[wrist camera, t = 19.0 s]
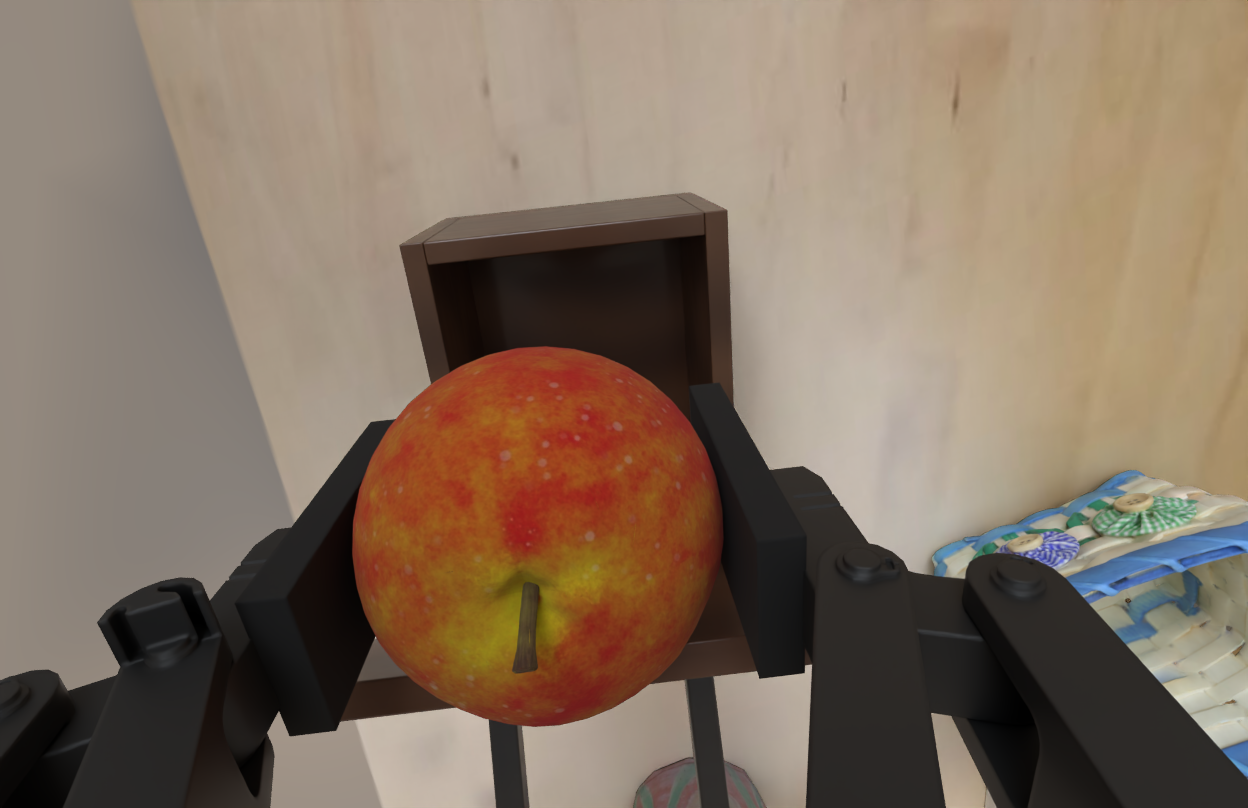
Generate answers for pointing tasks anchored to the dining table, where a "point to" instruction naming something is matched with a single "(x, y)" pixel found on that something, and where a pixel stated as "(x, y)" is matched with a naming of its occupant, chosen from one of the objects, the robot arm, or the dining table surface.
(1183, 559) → the basket
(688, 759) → the potted plant
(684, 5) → the dining table surface
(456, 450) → the fruit
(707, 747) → the lid
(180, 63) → the dining table surface
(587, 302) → the chest
